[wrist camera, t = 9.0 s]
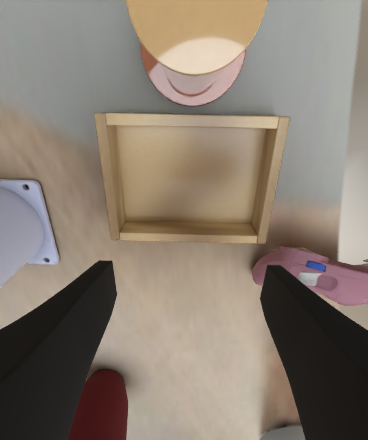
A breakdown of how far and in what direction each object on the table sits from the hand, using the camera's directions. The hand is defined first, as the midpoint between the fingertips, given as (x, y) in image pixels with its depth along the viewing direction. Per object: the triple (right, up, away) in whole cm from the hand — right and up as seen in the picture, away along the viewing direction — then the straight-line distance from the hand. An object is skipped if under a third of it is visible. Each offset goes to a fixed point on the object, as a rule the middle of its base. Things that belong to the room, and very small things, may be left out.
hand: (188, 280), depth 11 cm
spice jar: (0, +14, +3) cm, 14 cm away
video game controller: (+11, -1, +11) cm, 16 cm away
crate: (0, +6, +7) cm, 10 cm away
